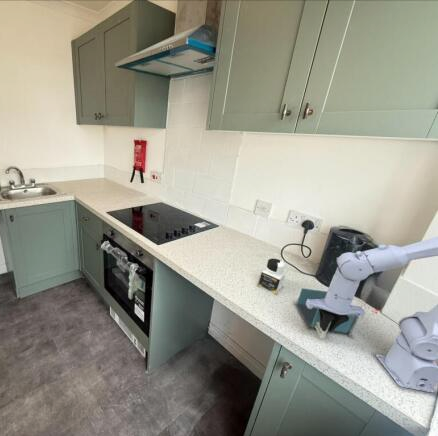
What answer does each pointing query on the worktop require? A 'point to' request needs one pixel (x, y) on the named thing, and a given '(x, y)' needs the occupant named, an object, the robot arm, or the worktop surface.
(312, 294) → the teal open box
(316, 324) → the teal shelf
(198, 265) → the worktop surface
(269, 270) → the medicine bottle
